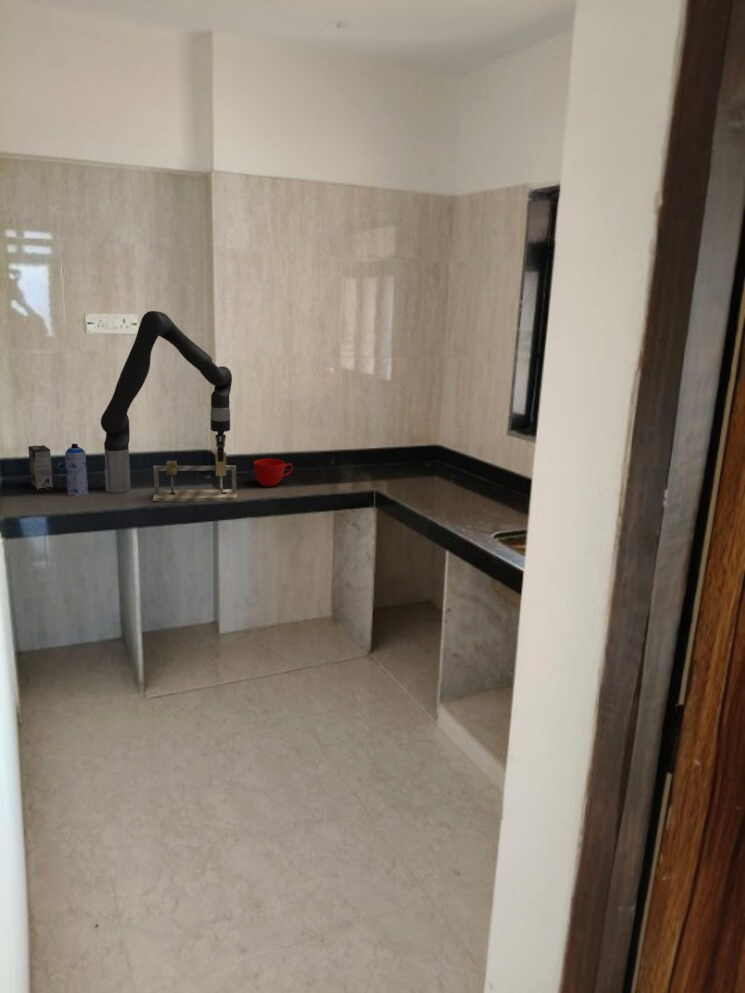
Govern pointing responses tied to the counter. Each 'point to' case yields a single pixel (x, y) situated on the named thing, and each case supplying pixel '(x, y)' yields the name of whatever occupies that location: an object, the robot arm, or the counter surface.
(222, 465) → the trammel head
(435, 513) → the counter surface
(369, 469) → the counter surface
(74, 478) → the aerosol can
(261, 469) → the ceramic cup
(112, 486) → the robot arm
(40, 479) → the coffee box
